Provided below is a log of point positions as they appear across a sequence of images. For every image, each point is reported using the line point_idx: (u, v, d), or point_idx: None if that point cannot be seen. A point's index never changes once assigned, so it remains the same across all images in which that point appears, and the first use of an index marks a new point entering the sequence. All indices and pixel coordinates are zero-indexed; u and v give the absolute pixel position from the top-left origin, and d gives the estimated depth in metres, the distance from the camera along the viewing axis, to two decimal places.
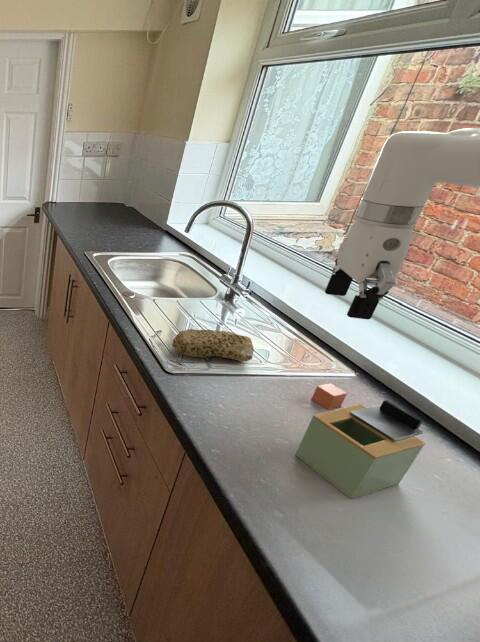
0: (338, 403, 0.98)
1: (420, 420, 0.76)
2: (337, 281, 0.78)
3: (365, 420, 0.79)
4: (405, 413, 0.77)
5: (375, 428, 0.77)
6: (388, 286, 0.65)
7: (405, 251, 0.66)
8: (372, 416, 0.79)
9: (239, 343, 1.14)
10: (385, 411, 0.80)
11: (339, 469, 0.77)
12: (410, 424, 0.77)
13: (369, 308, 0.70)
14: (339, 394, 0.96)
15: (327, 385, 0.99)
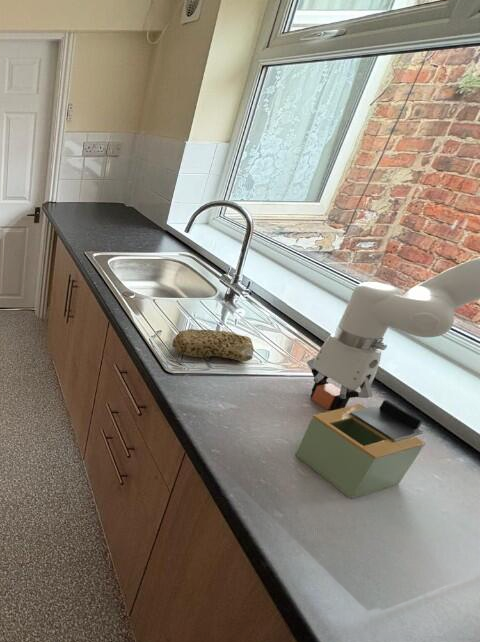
0: None
1: (420, 420, 0.76)
2: None
3: (365, 420, 0.79)
4: (405, 413, 0.77)
5: (375, 428, 0.77)
6: None
7: (378, 365, 0.90)
8: (372, 416, 0.79)
9: (239, 343, 1.14)
10: (385, 411, 0.80)
11: (339, 469, 0.77)
12: (410, 424, 0.77)
13: (345, 403, 0.96)
14: (339, 394, 0.96)
15: (327, 385, 0.99)
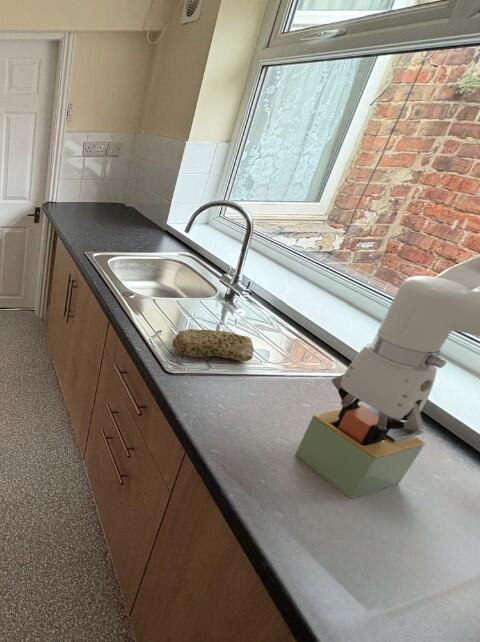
0: None
1: None
2: None
3: None
4: None
5: None
6: None
7: (431, 387, 0.67)
8: None
9: (239, 343, 1.14)
10: None
11: (339, 469, 0.77)
12: None
13: (384, 435, 0.73)
14: (376, 423, 0.74)
15: (359, 410, 0.77)
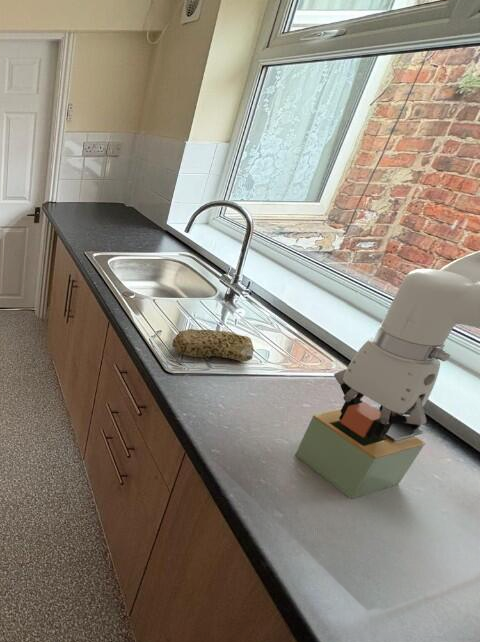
0: None
1: None
2: None
3: None
4: (405, 413, 0.77)
5: None
6: None
7: (435, 381, 0.67)
8: None
9: (239, 343, 1.14)
10: None
11: (339, 469, 0.77)
12: (410, 424, 0.77)
13: (387, 429, 0.73)
14: (378, 418, 0.73)
15: (361, 405, 0.76)
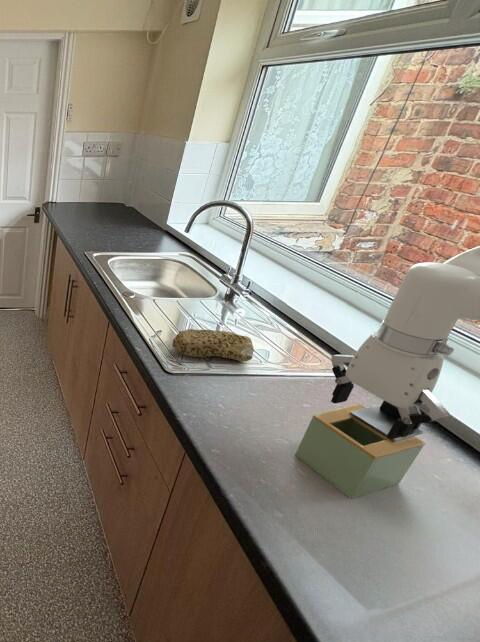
0: None
1: None
2: (343, 391, 0.78)
3: (365, 420, 0.79)
4: None
5: (375, 428, 0.77)
6: (443, 417, 0.65)
7: (438, 376, 0.66)
8: (372, 416, 0.79)
9: (239, 343, 1.14)
10: (385, 411, 0.80)
11: (339, 469, 0.77)
12: None
13: (410, 429, 0.70)
14: None
15: None
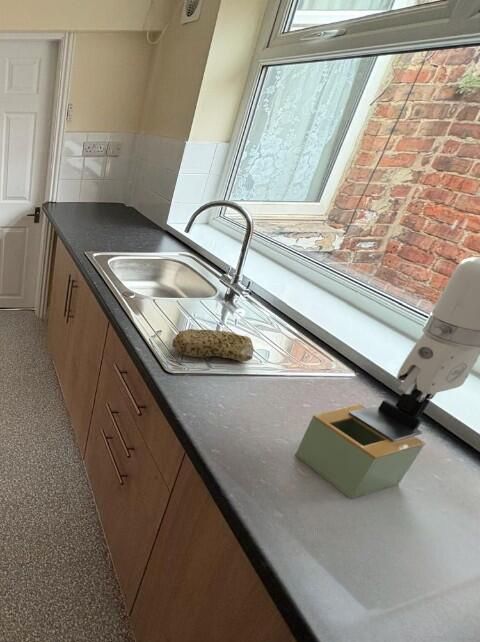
0: None
1: (419, 420, 0.76)
2: None
3: (364, 420, 0.78)
4: (404, 413, 0.77)
5: (374, 428, 0.77)
6: None
7: (438, 364, 0.70)
8: (371, 417, 0.79)
9: (239, 343, 1.14)
10: (384, 411, 0.80)
11: (339, 469, 0.77)
12: (409, 424, 0.77)
13: (409, 406, 0.77)
14: None
15: None
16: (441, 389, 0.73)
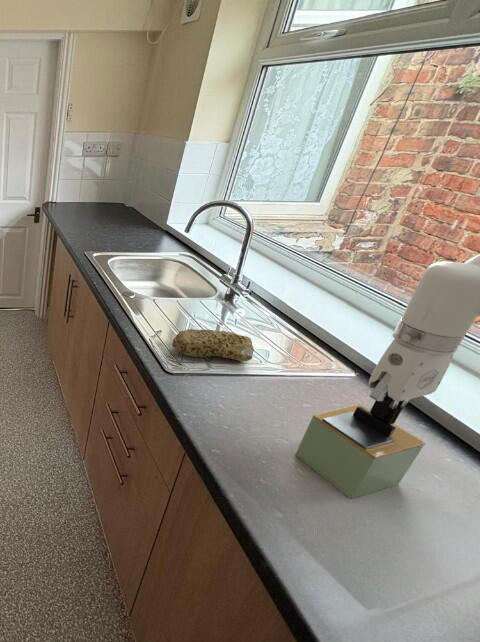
0: None
1: (392, 427, 0.74)
2: None
3: (337, 427, 0.77)
4: (378, 420, 0.76)
5: (347, 435, 0.75)
6: None
7: (407, 371, 0.69)
8: (344, 423, 0.78)
9: (239, 343, 1.14)
10: (358, 418, 0.79)
11: (339, 469, 0.77)
12: (383, 431, 0.75)
13: (382, 412, 0.76)
14: None
15: None
16: (413, 396, 0.71)
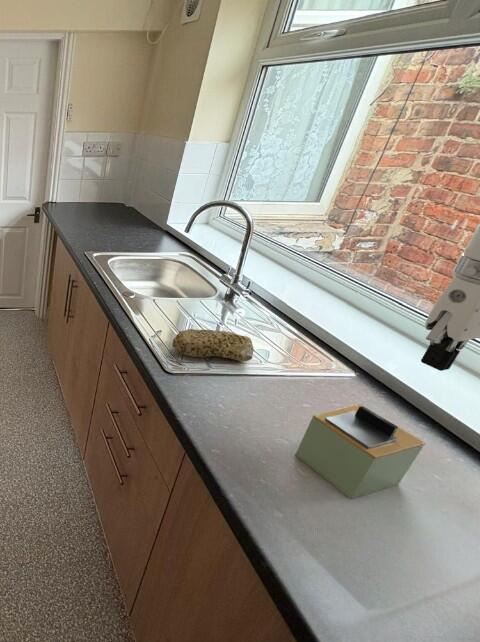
0: None
1: (395, 427, 0.74)
2: None
3: (340, 426, 0.77)
4: (380, 419, 0.76)
5: (349, 435, 0.75)
6: (432, 341, 0.70)
7: (471, 307, 0.65)
8: (347, 423, 0.78)
9: (239, 343, 1.14)
10: (361, 417, 0.79)
11: (339, 469, 0.77)
12: (385, 431, 0.75)
13: (437, 357, 0.72)
14: None
15: None
16: (474, 336, 0.68)
